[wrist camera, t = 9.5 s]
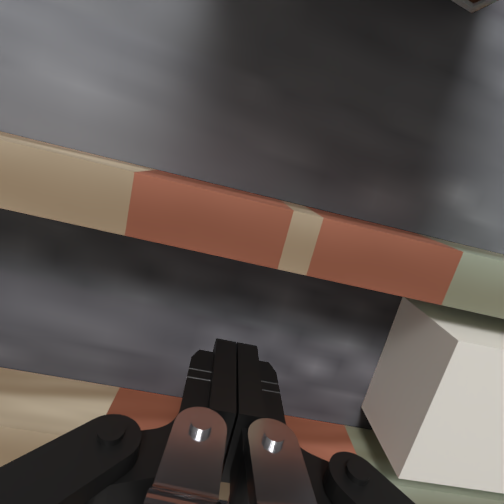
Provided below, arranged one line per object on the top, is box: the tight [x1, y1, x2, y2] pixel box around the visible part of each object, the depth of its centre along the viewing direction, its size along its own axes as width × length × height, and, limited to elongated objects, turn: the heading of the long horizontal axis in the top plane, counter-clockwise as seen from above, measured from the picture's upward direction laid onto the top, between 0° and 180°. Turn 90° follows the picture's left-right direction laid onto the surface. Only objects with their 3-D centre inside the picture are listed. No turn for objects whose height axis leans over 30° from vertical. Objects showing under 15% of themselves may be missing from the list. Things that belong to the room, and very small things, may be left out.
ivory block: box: [361, 297, 504, 494], centre depth 14 cm, size 6×6×4 cm
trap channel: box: [0, 131, 504, 504], centre depth 13 cm, size 12×28×3 cm, turn 76°
